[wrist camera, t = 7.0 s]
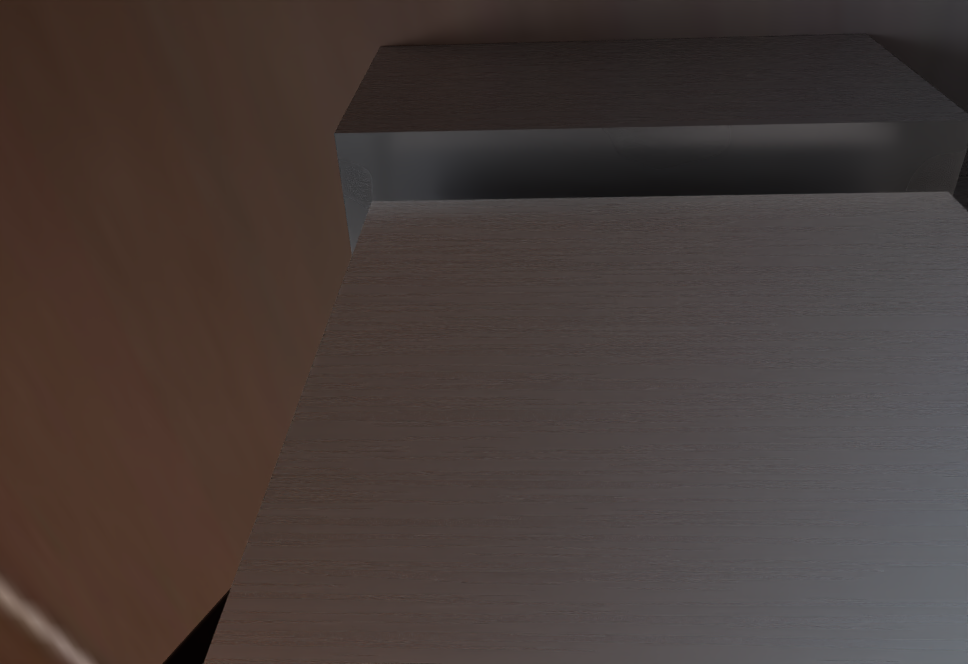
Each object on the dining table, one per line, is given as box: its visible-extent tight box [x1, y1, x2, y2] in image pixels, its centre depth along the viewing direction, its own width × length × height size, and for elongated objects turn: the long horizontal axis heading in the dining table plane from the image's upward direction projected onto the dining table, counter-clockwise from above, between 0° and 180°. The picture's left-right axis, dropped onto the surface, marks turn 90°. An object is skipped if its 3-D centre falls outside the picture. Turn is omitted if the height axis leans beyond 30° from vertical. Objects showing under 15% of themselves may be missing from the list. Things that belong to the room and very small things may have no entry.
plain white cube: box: [204, 192, 968, 664], centre depth 6 cm, size 5×5×6 cm
